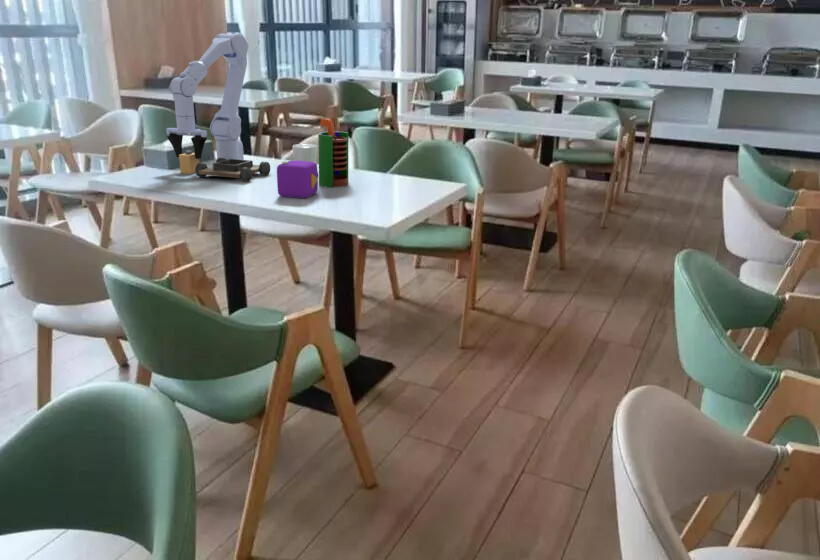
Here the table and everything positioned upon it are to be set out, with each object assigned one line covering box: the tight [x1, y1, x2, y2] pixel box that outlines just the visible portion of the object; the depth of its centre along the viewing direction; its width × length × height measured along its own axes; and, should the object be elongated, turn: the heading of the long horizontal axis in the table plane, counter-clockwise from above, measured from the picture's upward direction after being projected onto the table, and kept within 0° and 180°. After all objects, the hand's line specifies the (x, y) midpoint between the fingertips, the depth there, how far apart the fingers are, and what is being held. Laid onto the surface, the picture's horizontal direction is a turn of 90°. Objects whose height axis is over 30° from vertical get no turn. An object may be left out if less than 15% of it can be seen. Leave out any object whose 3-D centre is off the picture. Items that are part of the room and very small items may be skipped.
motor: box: [317, 118, 349, 189], centre depth 209 cm, size 10×9×20 cm
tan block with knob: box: [178, 150, 200, 175], centre depth 226 cm, size 5×4×7 cm
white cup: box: [292, 143, 318, 165], centre depth 222 cm, size 8×8×10 cm
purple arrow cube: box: [276, 159, 319, 199], centre depth 198 cm, size 11×14×10 cm
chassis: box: [195, 158, 271, 183], centre depth 221 cm, size 16×18×5 cm
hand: (188, 157), depth 226 cm, fingers open, 7 cm apart
